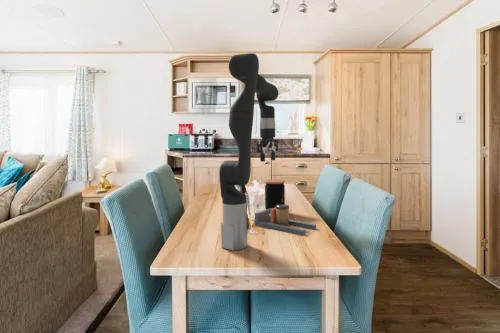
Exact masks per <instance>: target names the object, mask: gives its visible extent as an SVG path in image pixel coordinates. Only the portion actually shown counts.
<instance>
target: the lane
mask: <svg viewBox="0 0 500 333" xmlns="http://www.w3.org/2000/svg"><path fill="white" fill-rule="evenodd" d="M269 214H271V208H269V209H266V210H265V209H264V210H260V211H258V212H257V211H256V212H254V226H256V227H260V228H265V229H271V230H275V231H279V232H280V231H281V232H284V233H289V234H294V235H299V236H304V235H306V229H307V230H312V231H315V230H317V224H315V223H309V222H305V221H298V220H293V219H289V227H288V226H283V225H278V224H273V223H271V216H269ZM302 228H303V229H302Z"/></svg>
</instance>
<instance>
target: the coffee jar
mask: <svg viewBox="0 0 500 333" xmlns="http://www.w3.org/2000/svg"><path fill="white" fill-rule="evenodd" d="M264 183H265V185H264V200H265V201H264V204H265V205H264V207H265V208H264V210H265V209H269V208H271V209H273V208H276V205H279V204H286V203H285V202H286V201H285V200H286V196H285V194H286V193H285V192H286V191H285V190H286V188H285V184H284V183H285V180H283V179H267V180H264Z"/></svg>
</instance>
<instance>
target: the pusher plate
mask: <svg viewBox="0 0 500 333" xmlns="http://www.w3.org/2000/svg"><path fill="white" fill-rule="evenodd" d="M269 216H271V222H270V223H273V224H276V208H273V209H271V214H269Z"/></svg>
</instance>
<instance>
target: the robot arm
mask: <svg viewBox="0 0 500 333" xmlns="http://www.w3.org/2000/svg"><path fill="white" fill-rule="evenodd" d="M259 68H260V61H259V58H258V56H257V54H256V53H253V52H252V53H250V52H249V53H241V54H240V53H239V54H234V55H232V56H230V58H229V60H228V71H229V73H230V75H231V77H232V78H233V79H236V80H237V81H239V82H241V83H243V84H244V86H243V88H242V89H241V91H240V93H239V95H238V96H237V97H236V99H235V100H234V102H233V103H232V104H231V107H230V110H229V119H228V127H229V130H230V133H231V135H232V138H233V139H234V141H235V143H236V145H237V150H238V160H224V161H223V162H221V164H220V166H219V186H220V196H221V200H222V223H220V230H221V232H220V233H221V237H220V238H221V248H222V249H226V250H229V251H238V250H243V249H246V248H247V247H248V220H247V219H248V216H247V215H248V214H247V211H248V210H247V208H248V207H247V195H246V194H245V193H243V192H241V191H240V190H239V189H237V188H236V186H246V185H248V183H249V181H250V178H251V173H252V172H251V170H252V169H251V167H252V166H251V165H252V163H251V162H252V158H251V157H252V156H251V154H252V151H251V150H252V149H251V148H252V135H253V134H252V133H253V125H254V115H255V112H254V110H255V97H256V98H257V102H258V106H259V114H260V115H259V116H260V118H259V119H260V120H259V137H260V139H257V141H256V142H257V143H256V152H257V153H258V154H259V155H260V156H259V158H260V162H265V161H266V154H265V153H266V151H267V150H268V149H269V151H270V160H271V161H275V160H276V153H277V152H279V140H278V139H277V138H276V120H275V119H276V116H275V114H276V112H275V111H276V110H275V107H274V106H272V105H268V104H266V102H273V101H276V100H277V99H278V97H279V89H278V88H277V86H276V85H274V84H272V83H271V82H268V81H267V80H266V78H264V77H263V76H262V75H260V74H259V71H260V69H259ZM274 138H276V139H274Z"/></svg>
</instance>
